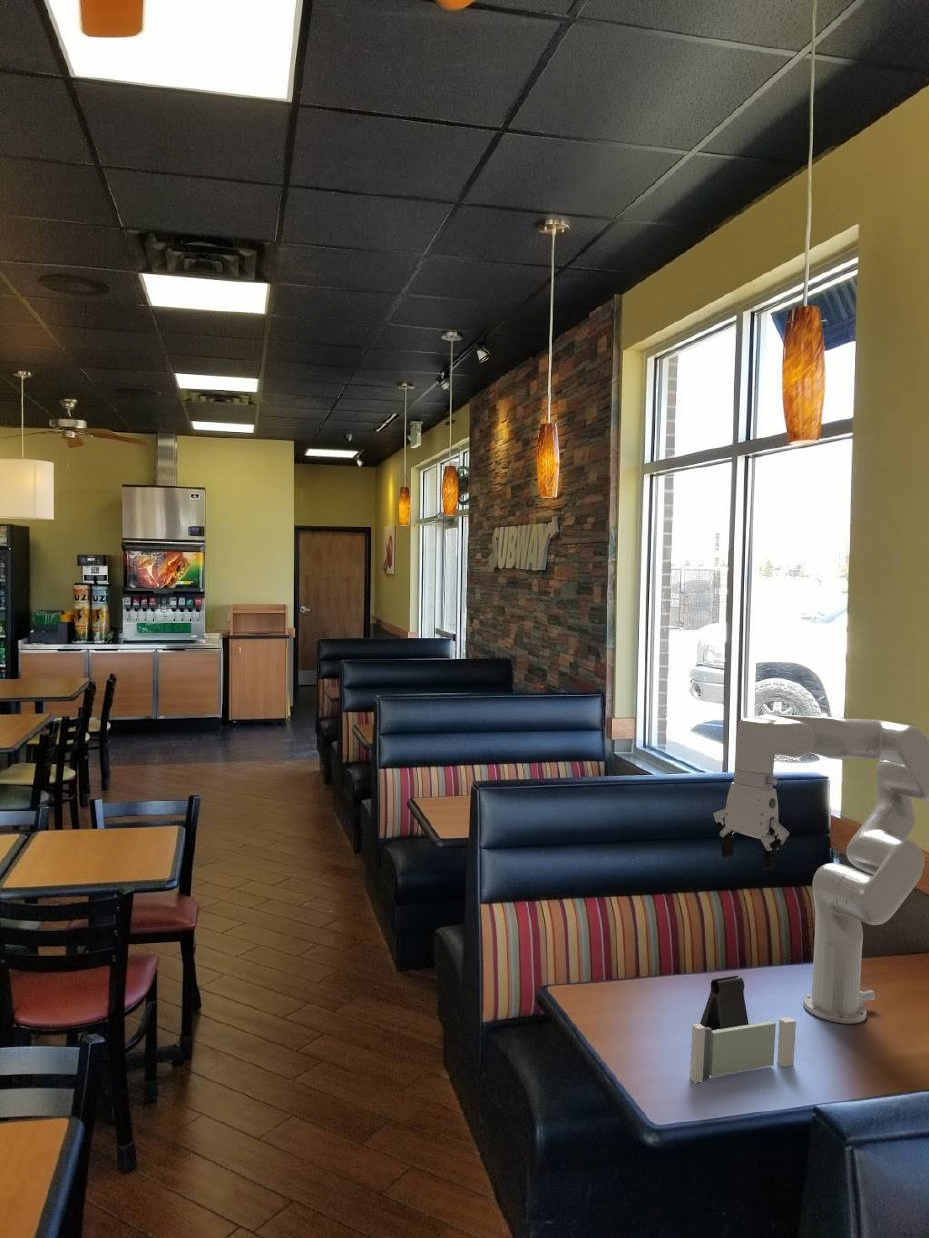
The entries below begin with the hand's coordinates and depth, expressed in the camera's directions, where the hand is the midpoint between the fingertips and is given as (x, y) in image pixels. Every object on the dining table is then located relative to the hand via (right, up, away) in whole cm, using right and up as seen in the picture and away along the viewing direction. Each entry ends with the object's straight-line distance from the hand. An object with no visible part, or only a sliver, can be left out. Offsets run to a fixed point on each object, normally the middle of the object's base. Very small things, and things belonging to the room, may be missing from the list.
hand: (747, 862), depth 182 cm
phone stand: (-6, -34, -3) cm, 35 cm away
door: (-7, -34, -17) cm, 39 cm away
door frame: (-6, -34, -16) cm, 39 cm away
